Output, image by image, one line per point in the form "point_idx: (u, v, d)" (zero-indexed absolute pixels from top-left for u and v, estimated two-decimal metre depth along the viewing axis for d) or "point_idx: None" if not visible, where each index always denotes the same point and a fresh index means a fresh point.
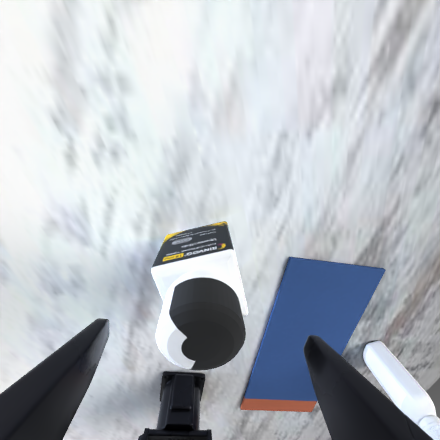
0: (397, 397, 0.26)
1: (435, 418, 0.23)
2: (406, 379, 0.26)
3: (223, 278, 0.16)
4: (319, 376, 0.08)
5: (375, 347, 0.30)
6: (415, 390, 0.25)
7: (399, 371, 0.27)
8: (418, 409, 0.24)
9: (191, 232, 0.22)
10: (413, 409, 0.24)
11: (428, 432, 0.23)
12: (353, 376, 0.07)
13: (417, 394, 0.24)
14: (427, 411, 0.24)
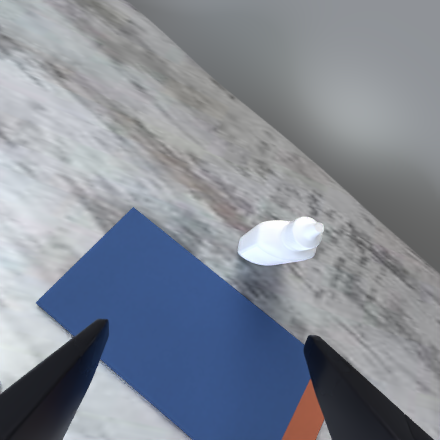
0: (271, 257, 0.18)
1: (283, 227, 0.17)
2: (251, 236, 0.19)
3: None
4: (319, 376, 0.08)
5: (239, 247, 0.24)
6: (255, 233, 0.18)
7: (248, 238, 0.20)
8: (270, 242, 0.17)
9: None
10: (271, 248, 0.17)
11: (292, 246, 0.15)
12: (353, 376, 0.07)
13: (256, 234, 0.18)
14: (277, 232, 0.17)
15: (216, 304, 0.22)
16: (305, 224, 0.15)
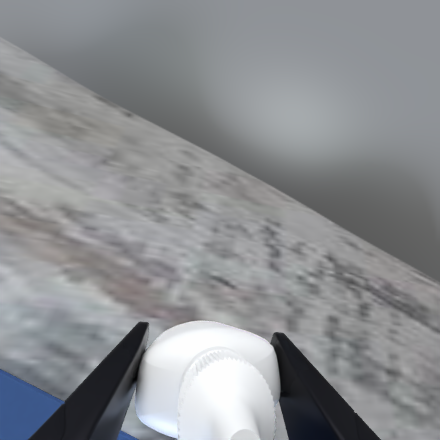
0: None
1: (183, 376, 0.06)
2: None
3: None
4: (280, 374, 0.08)
5: None
6: None
7: None
8: (162, 418, 0.07)
9: None
10: (168, 431, 0.07)
11: None
12: (310, 374, 0.07)
13: (136, 387, 0.07)
14: (175, 384, 0.07)
15: None
16: (212, 408, 0.04)
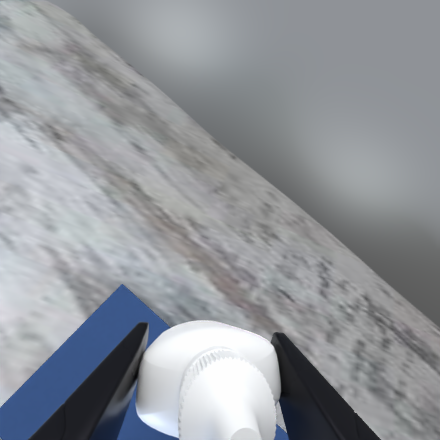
0: None
1: (183, 376, 0.06)
2: None
3: None
4: (280, 374, 0.08)
5: None
6: None
7: None
8: (162, 417, 0.07)
9: None
10: (168, 431, 0.07)
11: None
12: (310, 374, 0.07)
13: None
14: (175, 384, 0.07)
15: None
16: (212, 407, 0.05)
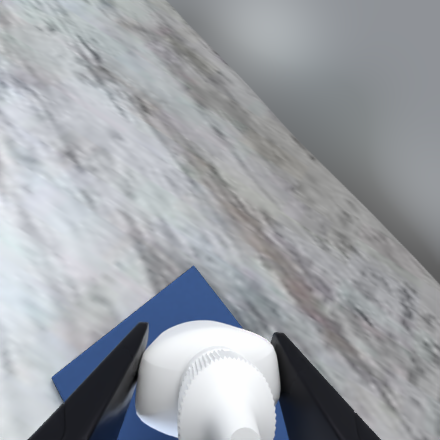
0: None
1: (183, 375, 0.06)
2: None
3: None
4: (280, 374, 0.08)
5: None
6: None
7: None
8: (162, 417, 0.07)
9: None
10: (168, 430, 0.07)
11: None
12: (310, 374, 0.07)
13: (136, 387, 0.07)
14: (175, 383, 0.07)
15: (282, 433, 0.16)
16: (212, 407, 0.05)
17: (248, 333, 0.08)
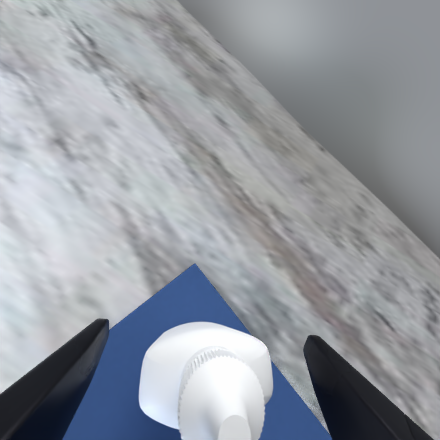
0: None
1: (183, 372, 0.07)
2: None
3: None
4: (319, 376, 0.08)
5: None
6: None
7: None
8: (163, 410, 0.07)
9: None
10: (169, 422, 0.07)
11: None
12: (353, 376, 0.07)
13: None
14: (175, 379, 0.07)
15: None
16: (208, 399, 0.05)
17: (244, 335, 0.09)
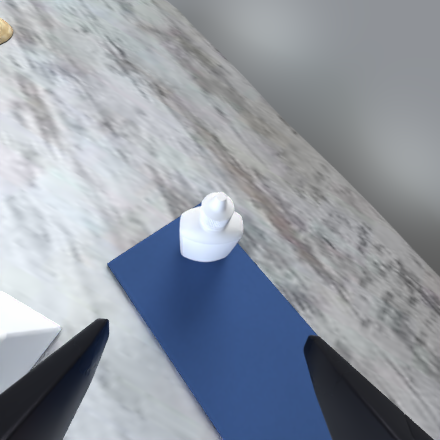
0: (201, 245, 0.18)
1: None
2: None
3: None
4: (319, 376, 0.08)
5: None
6: None
7: None
8: (192, 228, 0.16)
9: None
10: (194, 233, 0.16)
11: (209, 224, 0.15)
12: (353, 376, 0.07)
13: (180, 224, 0.17)
14: (197, 217, 0.17)
15: (264, 306, 0.23)
16: (212, 198, 0.14)
17: None
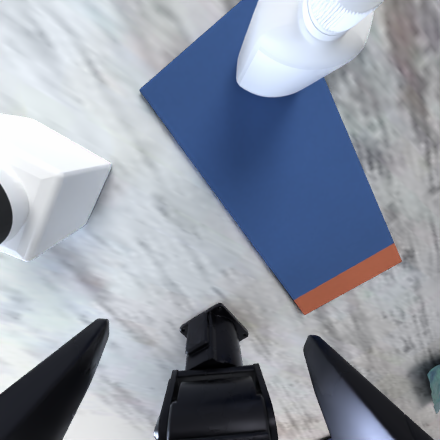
0: (283, 70, 0.11)
1: None
2: (249, 33, 0.11)
3: None
4: (319, 376, 0.08)
5: (237, 71, 0.15)
6: (254, 21, 0.10)
7: (246, 42, 0.12)
8: (282, 30, 0.09)
9: None
10: (283, 44, 0.09)
11: (324, 22, 0.08)
12: (353, 376, 0.07)
13: (256, 20, 0.10)
14: (296, 2, 0.09)
15: (328, 162, 0.19)
16: None
17: None
